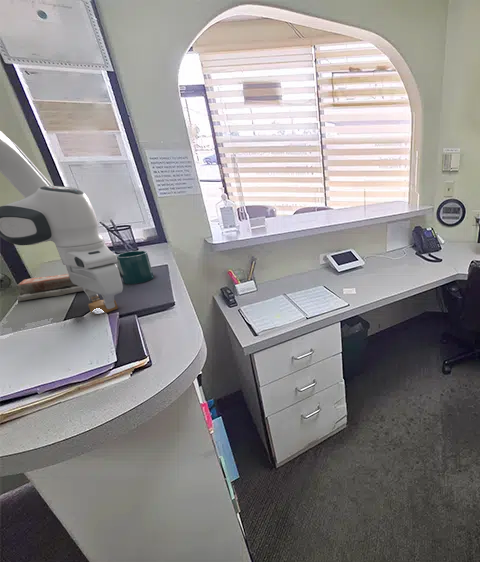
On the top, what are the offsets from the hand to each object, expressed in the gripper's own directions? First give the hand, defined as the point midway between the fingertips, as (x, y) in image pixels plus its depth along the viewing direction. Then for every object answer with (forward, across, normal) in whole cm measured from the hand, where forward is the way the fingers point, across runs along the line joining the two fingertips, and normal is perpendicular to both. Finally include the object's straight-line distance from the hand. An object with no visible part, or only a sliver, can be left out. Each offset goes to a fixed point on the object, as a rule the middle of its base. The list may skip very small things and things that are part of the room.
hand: (102, 304), depth 82 cm
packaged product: (+2, -28, +1) cm, 28 cm away
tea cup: (+2, -18, +17) cm, 25 cm away
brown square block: (+2, 0, 0) cm, 2 cm away
